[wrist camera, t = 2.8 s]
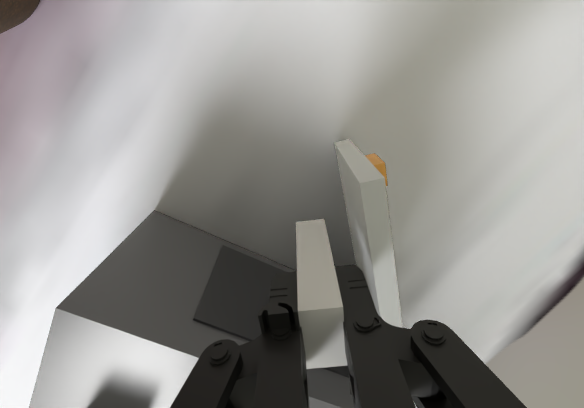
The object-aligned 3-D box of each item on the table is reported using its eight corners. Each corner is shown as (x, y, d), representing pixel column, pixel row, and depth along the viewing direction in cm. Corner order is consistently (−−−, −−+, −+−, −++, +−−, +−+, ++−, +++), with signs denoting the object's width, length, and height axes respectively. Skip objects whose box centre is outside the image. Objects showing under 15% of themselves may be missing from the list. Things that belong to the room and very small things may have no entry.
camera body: (315, 396, 30) (329, 599, 18) (111, 325, 26) (-28, 520, 15) (385, 307, 25) (462, 497, 14) (155, 208, 22) (7, 353, 11)
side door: (359, 298, 25) (388, 395, 17) (331, 143, 20) (354, 184, 12) (384, 294, 24) (425, 390, 17) (362, 135, 20) (405, 173, 12)
